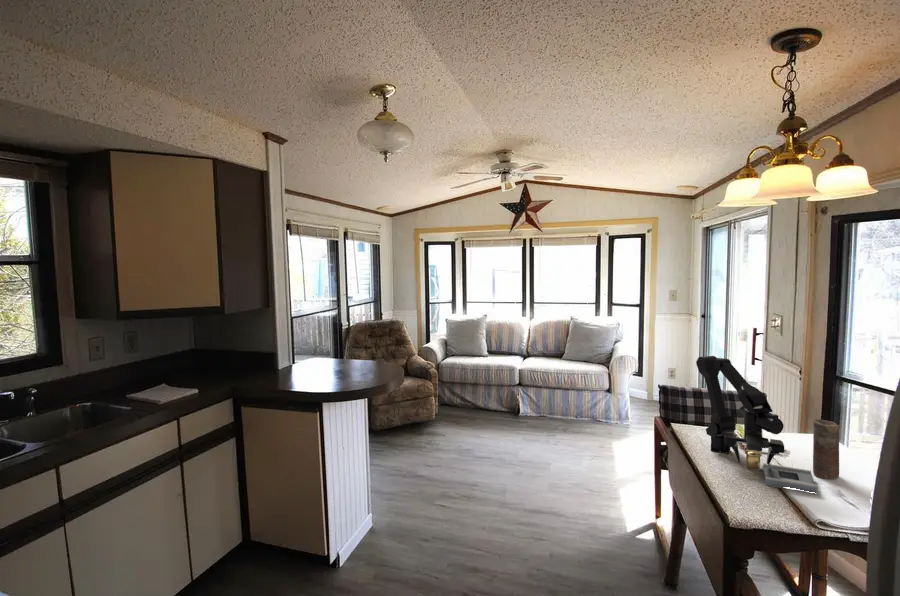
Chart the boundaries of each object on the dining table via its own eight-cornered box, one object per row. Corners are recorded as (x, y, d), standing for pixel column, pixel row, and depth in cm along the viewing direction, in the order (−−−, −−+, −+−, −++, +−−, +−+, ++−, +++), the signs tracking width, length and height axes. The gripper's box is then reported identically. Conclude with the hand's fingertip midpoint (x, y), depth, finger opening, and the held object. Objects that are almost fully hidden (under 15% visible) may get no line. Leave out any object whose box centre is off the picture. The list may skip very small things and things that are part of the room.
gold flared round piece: (745, 469, 171) (745, 453, 170) (744, 463, 175) (744, 448, 175) (761, 471, 168) (762, 456, 168) (760, 466, 172) (760, 450, 172)
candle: (814, 468, 168) (814, 416, 166) (840, 474, 163) (841, 421, 161) (811, 476, 163) (811, 422, 161) (837, 482, 157) (838, 427, 156)
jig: (765, 485, 158) (765, 477, 158) (763, 471, 168) (763, 463, 168) (816, 494, 151) (816, 485, 151) (810, 478, 161) (810, 470, 161)
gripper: (724, 428, 168) (724, 468, 169) (786, 435, 159) (786, 478, 160) (724, 418, 178) (724, 456, 179) (782, 425, 168) (782, 465, 169)
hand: (753, 464), depth 171 cm, fingers open, 9 cm apart
